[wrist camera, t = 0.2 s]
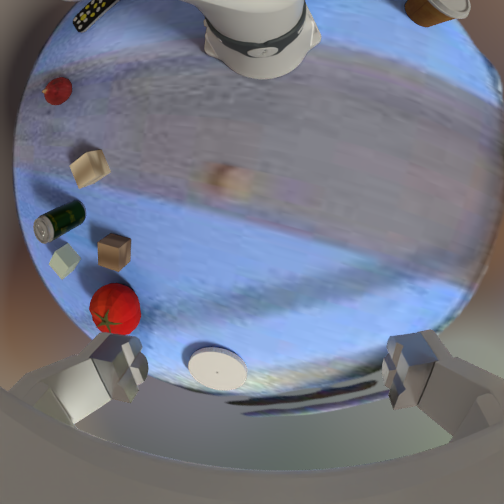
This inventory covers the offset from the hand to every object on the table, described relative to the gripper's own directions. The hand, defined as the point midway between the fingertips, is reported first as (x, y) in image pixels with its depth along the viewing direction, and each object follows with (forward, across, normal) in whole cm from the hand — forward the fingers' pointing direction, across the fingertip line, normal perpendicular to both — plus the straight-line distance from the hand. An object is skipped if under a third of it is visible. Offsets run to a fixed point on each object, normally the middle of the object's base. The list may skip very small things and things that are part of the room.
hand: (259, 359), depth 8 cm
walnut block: (+40, +32, +7) cm, 52 cm away
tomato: (+41, +35, +19) cm, 57 cm away
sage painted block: (+40, +48, +8) cm, 63 cm away
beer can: (+39, +42, -2) cm, 57 cm away
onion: (+36, +40, -28) cm, 60 cm away
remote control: (+35, +32, -46) cm, 66 cm away
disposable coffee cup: (+36, -29, -36) cm, 59 cm away
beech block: (+38, +34, -10) cm, 52 cm away
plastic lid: (+43, +16, +38) cm, 60 cm away
